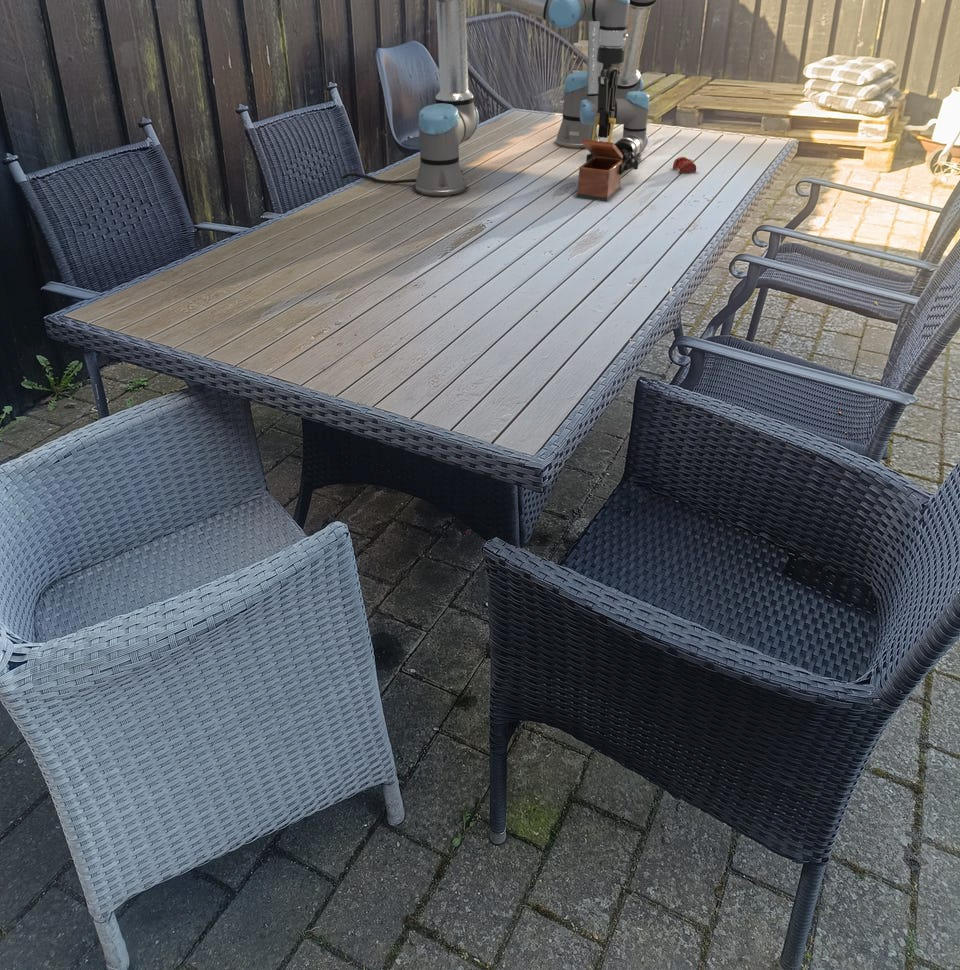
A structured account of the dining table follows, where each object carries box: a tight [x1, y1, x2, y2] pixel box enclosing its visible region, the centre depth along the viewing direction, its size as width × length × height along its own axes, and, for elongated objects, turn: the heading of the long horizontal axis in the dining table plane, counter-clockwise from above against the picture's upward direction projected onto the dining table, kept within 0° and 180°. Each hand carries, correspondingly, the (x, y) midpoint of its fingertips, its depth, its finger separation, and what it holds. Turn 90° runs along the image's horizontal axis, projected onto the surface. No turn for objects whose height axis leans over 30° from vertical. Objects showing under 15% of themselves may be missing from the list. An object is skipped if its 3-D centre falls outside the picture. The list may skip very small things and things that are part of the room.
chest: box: [576, 156, 623, 202], centre depth 253 cm, size 14×9×9 cm
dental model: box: [672, 156, 697, 174], centre depth 274 cm, size 6×4×8 cm
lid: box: [582, 116, 623, 159], centre depth 248 cm, size 14×9×9 cm, turn 157°
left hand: (603, 136), depth 247 cm, fingers closed on lid, 1 cm apart
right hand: (604, 168), depth 255 cm, fingers closed on chest, 9 cm apart
